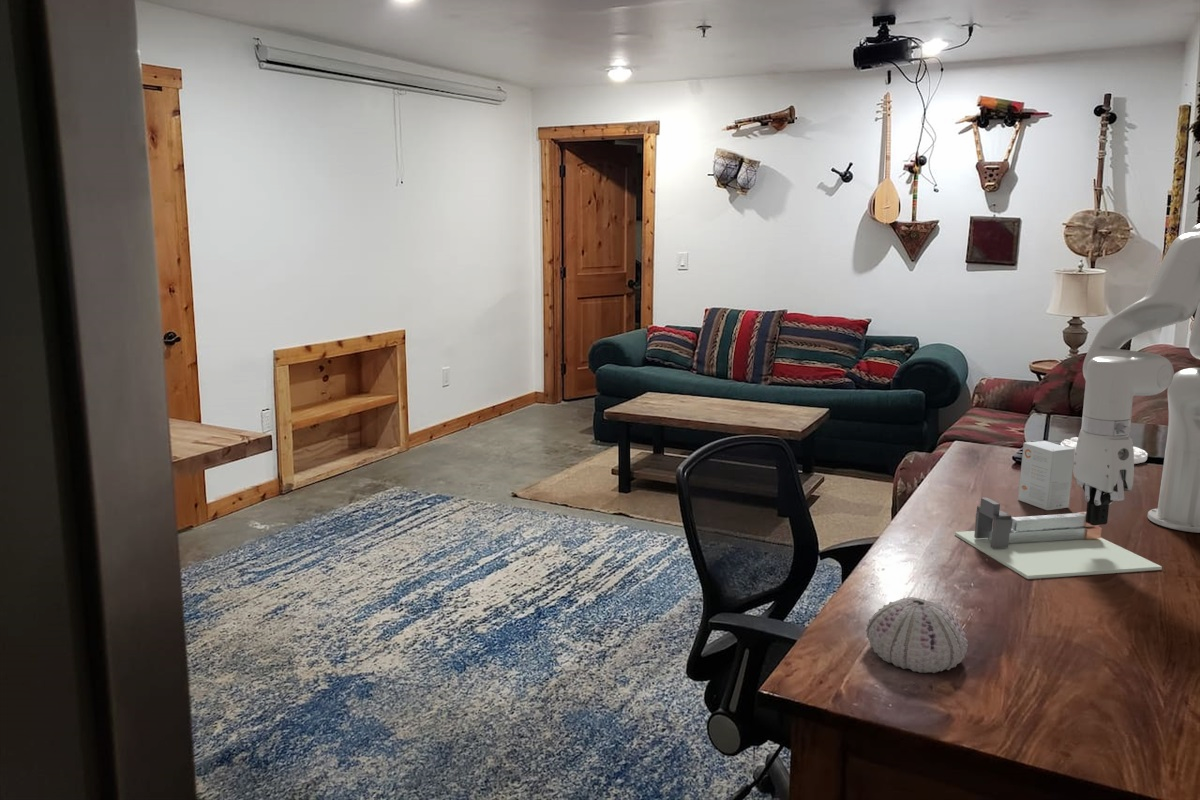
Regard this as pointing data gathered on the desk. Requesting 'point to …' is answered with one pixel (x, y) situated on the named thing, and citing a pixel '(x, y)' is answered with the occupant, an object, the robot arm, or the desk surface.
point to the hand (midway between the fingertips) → (1096, 523)
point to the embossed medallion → (1138, 453)
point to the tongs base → (1052, 534)
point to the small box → (1046, 475)
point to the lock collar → (992, 515)
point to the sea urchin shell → (917, 635)
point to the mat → (1062, 557)
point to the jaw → (1050, 521)
